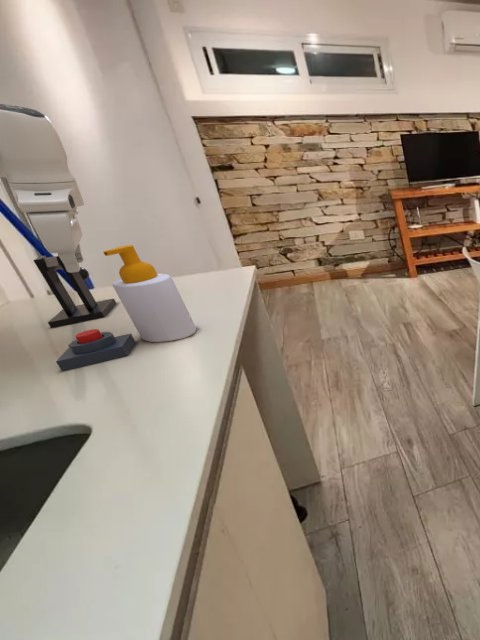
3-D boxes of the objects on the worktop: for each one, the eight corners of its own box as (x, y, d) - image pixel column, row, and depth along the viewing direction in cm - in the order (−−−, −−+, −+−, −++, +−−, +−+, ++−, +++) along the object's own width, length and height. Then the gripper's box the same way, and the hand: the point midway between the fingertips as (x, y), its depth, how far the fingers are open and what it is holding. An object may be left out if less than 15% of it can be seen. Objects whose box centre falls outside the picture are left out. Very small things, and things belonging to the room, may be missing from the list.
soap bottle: (129, 340, 106) (80, 251, 97) (168, 324, 113) (125, 241, 104) (170, 344, 102) (122, 253, 93) (208, 328, 109) (167, 241, 100)
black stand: (67, 313, 125) (32, 255, 118) (116, 303, 130) (85, 247, 123) (50, 328, 116) (11, 266, 109) (104, 317, 120) (69, 257, 113)
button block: (61, 371, 94) (50, 353, 92) (75, 356, 100) (64, 339, 98) (127, 355, 98) (117, 338, 96) (135, 342, 104) (126, 325, 103)
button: (77, 346, 95) (72, 338, 94) (82, 339, 98) (78, 332, 97) (100, 341, 97) (96, 333, 96) (105, 334, 100) (101, 327, 99)
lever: (76, 283, 127) (71, 270, 127) (93, 280, 129) (89, 267, 129) (43, 270, 115) (38, 256, 115) (63, 267, 116) (59, 253, 116)
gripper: (32, 192, 97) (59, 259, 103) (15, 204, 83) (47, 280, 89) (76, 191, 101) (100, 255, 106) (67, 202, 87) (95, 274, 93)
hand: (76, 266), depth 97 cm, fingers open, 8 cm apart
